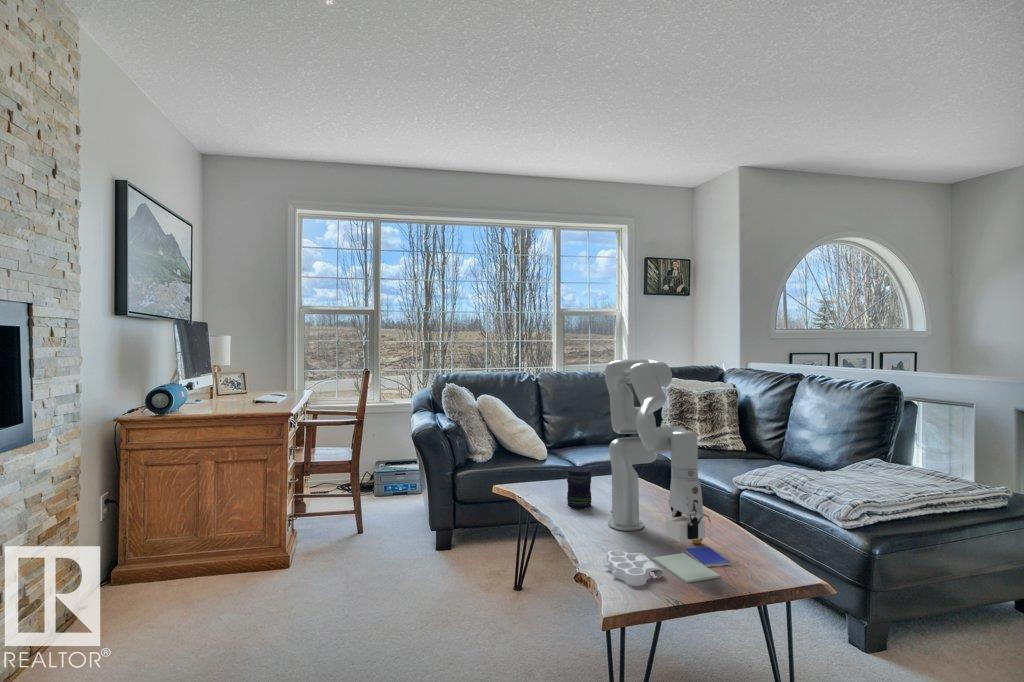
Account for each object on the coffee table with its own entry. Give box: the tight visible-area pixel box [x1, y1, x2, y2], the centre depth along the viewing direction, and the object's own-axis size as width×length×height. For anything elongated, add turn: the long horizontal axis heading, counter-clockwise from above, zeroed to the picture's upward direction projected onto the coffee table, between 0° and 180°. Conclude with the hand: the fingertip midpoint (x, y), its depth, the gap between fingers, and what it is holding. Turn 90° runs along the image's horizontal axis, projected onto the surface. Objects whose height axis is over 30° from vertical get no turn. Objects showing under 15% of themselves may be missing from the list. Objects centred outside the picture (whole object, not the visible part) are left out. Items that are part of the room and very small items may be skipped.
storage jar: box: [566, 465, 592, 510], centre depth 221 cm, size 10×10×15 cm
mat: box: [652, 552, 721, 584], centre depth 159 cm, size 17×11×1 cm, turn 17°
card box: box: [665, 514, 706, 543], centre depth 159 cm, size 9×6×5 cm, turn 112°
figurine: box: [690, 512, 712, 545], centre depth 178 cm, size 8×6×12 cm
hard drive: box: [685, 546, 732, 568], centre depth 167 cm, size 2×8×12 cm
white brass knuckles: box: [603, 549, 665, 587], centre depth 157 cm, size 3×18×15 cm
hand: (685, 534), depth 159 cm, fingers closed on card box, 6 cm apart
